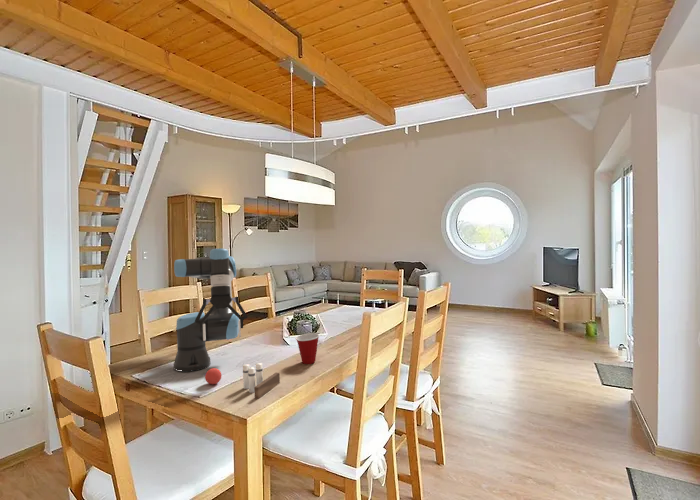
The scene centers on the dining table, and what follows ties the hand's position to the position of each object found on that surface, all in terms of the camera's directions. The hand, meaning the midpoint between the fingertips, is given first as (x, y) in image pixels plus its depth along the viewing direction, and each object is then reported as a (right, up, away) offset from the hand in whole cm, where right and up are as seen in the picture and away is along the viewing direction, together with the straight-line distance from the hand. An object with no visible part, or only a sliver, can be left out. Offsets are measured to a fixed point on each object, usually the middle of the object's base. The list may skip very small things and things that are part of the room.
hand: (222, 338), depth 157 cm
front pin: (+13, -16, -10) cm, 23 cm away
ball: (-2, -13, -5) cm, 14 cm away
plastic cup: (+33, -15, +18) cm, 40 cm away
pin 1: (+16, -16, -14) cm, 26 cm away
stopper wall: (+21, -16, -13) cm, 30 cm away
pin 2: (+17, -16, -9) cm, 25 cm away
